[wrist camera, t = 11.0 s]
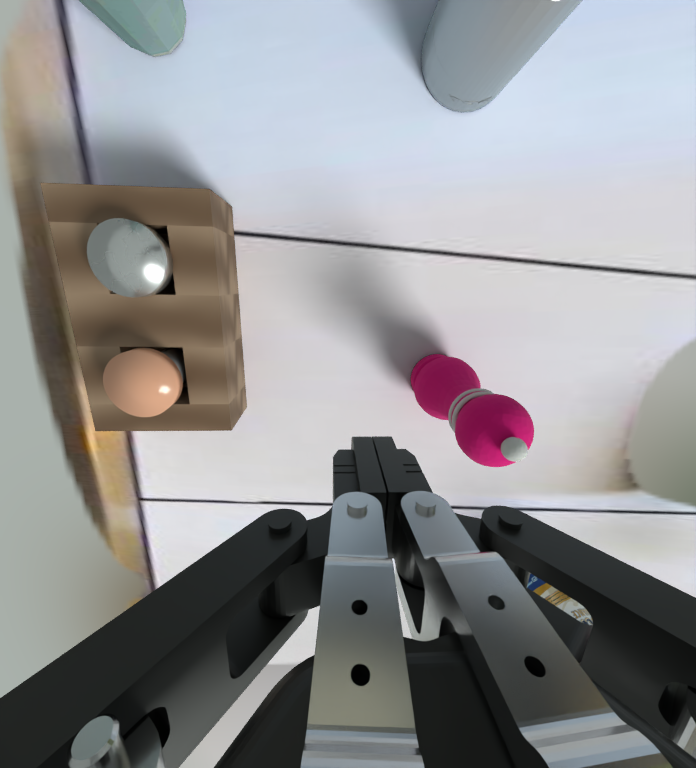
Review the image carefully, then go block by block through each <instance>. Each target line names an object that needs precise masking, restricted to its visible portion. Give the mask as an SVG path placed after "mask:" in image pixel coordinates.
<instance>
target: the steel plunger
mask: <svg viewBox="0 0 696 768" xmlns="http://www.w3.org/2000/svg"><path fill="white" fill-rule="evenodd" d="M87 257H88V261H89V265H90V267H91V269H92V271H93V273H94V275H95V276H96V278H97V279H98V280H99V281H100V282H101V283H102V284H103V285H104V286H105V287H106V288H108V289H109V290H111V291H112V292H114V293H116V294H119V295H122V296H126V297H146V296H152V295H155V294H157V293H159V292H160V291H162V290H163V289H164V288H165V287H166V286H167V285H173V284H174V276H173V258H172V254H171V251H170V245H169V242H165V240H164V239H163V238H162V237H161V236H160V235H159V234H158V233H157V232H156V231H155V230H153V229H152V228H150V227H149V226H147V225H144V224H142V223H139V222H136V221H132V220H129V219H124V218H113V219H109V220H106V221H104V222H102V223H100V224H99V225H98V226H96V228H95V229H94V230H93V231H92V233H91V235H90V237H89V239H88V243H87Z"/></svg>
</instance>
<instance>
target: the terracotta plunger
mask: <svg viewBox="0 0 696 768" xmlns="http://www.w3.org/2000/svg"><path fill="white" fill-rule="evenodd" d="M185 383H187V378H186V370H185V362H184V355H183V350H181V349H178V348H174V347H168V348H164V349H162V350H159V351H157V350H154V349H151V348H136V349H132V350H129V351H126V352H123V353H120V354H118V355H116V356H115V357H113V358H112V359H111V360H110V361H109V362H108V364H107V365H106V367H105V370H104V373H103V385H104V389H105V391H106V394H107V395H108V397H109V399H110V400H111V401H112V402H113V403H114V404H115V405H116V406H117V407H118V408H119V409H121V410H122V411H124V412H126V413H128V414H130V415H133V416H137V417H152V416H156V415H159V414H161V413H163V412H164V411H166V410H167V409H168V408H169V407H171V406H172V405H173V404H174V403H175V402H176V401H177V400H178V399H179V397H180V395H181V393H182V388H183V385H184V384H185Z"/></svg>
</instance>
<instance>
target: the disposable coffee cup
mask: <svg viewBox="0 0 696 768" xmlns="http://www.w3.org/2000/svg"><path fill="white" fill-rule="evenodd" d="M79 1H80V2H81V3H82V4H83V5H84V6H86V7H87V8H88V9H89V10H90V11H91V12H92V13H93V14H95V15H96V16H97V17H98V18H99V19H100V20H101V21H102V22H103V23H105V24H106V25H107V26H108V27H109V28H110V29H111V30H112V31H113V32H115V33H116V34H117V35H118V36H119V37H120V38H121V39H122V40H123V41H125V42H126V43H127V44H128V45H129V46H130V47H132V48H134V49H137V50H139V51H141V52H144V53H146V54H149V55H151V56H154V57H156V56H161V55H166V54H171V53H172V52H173V50H174V49H175V48H176V47H177V46H178V45H179V44H180V42H181V41H182V40H183V35H184V29H185V23H186V18H185V17H186V11H185V7H184V4H183V0H79Z"/></svg>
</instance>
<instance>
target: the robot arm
mask: <svg viewBox="0 0 696 768" xmlns="http://www.w3.org/2000/svg"><path fill="white" fill-rule="evenodd" d="M581 2H582V0H439V1H438V3H437V6H436V9H435V11H434V14H433V16H432V19H431V21H430V24H429V27H428V29H427V32H426V34H425V38H424V42H423V46H422V57H421V62H422V72H423V75H424V79H425V83H426V85H427V87H428V89H429V91H430V93H431V94H432V95H433V97H434V98H435V99H436V100H437V101H438V102H439V103H440V104H441V105H443V106H444V107H446V108H448V109H450V110H452V111H456V112H472V111H475V110H478V109H481V108H482V107H484V106H485V105H487V104H489V103H490V102H491V101H492V100H493V99H494V98H495V97H496V96H497V95H498V94H499V93H500V92H501V91H502V89H503V88H504V87H505V86H506V85H507V84H508V83H509V82H510V81H511V79H512V78H513V77H514V76H515V75H516V74H517V73H518V72H519V71H520V70H521V69H522V67H523V66H524V65H525V64H526V63H527V62H528V61H529V60H530V59H531V57H532V56H533V55H534V54H535V53H536V52H537V51H538V50H539V48H540V47H541V46H542V45H543V44H544V43H545V42H546V41H547V40H548V38H549V37H550V36H551V35H552V34H553V33H554V32H555V31H556V29H557V28H558V27H559V26H560V25H561V24H562V23H563V22H564V21H565V19H566V18H567V17H568V16H569V15H570V14H571V13H572V12H573V10H574V9H575V8H576V7H577V6H578V5H579V4H580V3H581ZM392 558H394V560H395V564H396V569H395V574H394V567H393V561H392ZM530 573H531V574H533V575H534V576H536V577H537V578H539V579H541V580H542V581H544V582H546V583H547V584H549V585H551V586H552V587H554V588H555V589H557V590H559V591H560V592H562V593H564V594H565V595H567V596H569V597H570V598H572V599H573V600H575V601H577V602H578V603H580V604H581V605H582V606H583V607H584V608H585V609H586V610H587V611H588V612H589V614H590V615H591V618H592V621H593V625H588V624H584V623H582V622H580V621H578V620H577V619H575V618H574V617H572V616H571V615H569V614H568V613H566V612H564V611H563V610H561V609H560V608H558V607H557V606H555V605H554V604H552V603H550V602H549V601H547V600H546V599H544V598H543V597H541V596H540V595H538V594H537V593H535V592H533V591H532V590H530V589H529V588H527V585H528V581H529V576H530ZM396 587H397V589H396ZM397 590H398V594H399V597H400V600H401V603H402V607H403V610H404V613H405V616H406V620H407V623H408V626H409V629H410V633H411V636H412V639H410V638H406V637H403V633H402V625H401V618H400V611H399V603H398V596H397ZM317 606H320V611H319V620H318V630H317V639H316V648H315V655H314V656H312V657H310V658H308V659H306V660H304V661H303V662H301V663H300V664H298V665H297V666H296V667H294V668H293V669H292V670H291V671H290V672H288V673H287V674H286V675H285V676H284V677H283V678H282V679H281V680H280V681H279V682H278V683H277V684H276V685H275V686H274V688H273V689H272V690H271V692H270V693H269V694H268V695H267V697H266V698H265V699H264V701H263V702H262V703H261V705H260V706H259V707H258V709H257V710H256V711H255V713H254V714H253V716H252V717H251V718H250V719H249V721H248V722H247V724H246V725H245V726H244V728H243V729H242V730H241V732H240V733H239V735H238V736H237V737H236V738H235V740H234V741H233V743H232V744H231V745H230V747H229V748H228V749H227V751H226V752H225V753H224V755H223V756H222V757H221V759H220V760H219V761H218V763H217V764H216V766H215V767H214V768H696V598H695V597H693V596H691V595H689V594H687V593H685V592H683V591H681V590H679V589H677V588H675V587H673V586H670V585H668V584H666V583H664V582H662V581H660V580H658V579H656V578H654V577H652V576H650V575H648V574H646V573H644V572H642V571H640V570H638V569H636V568H634V567H632V566H630V565H628V564H626V563H624V562H622V561H620V560H618V559H616V558H614V557H612V556H610V555H608V554H606V553H604V552H602V551H600V550H598V549H596V548H594V547H592V546H590V545H588V544H586V543H584V542H581V541H579V540H577V539H575V538H573V537H571V536H569V535H567V534H565V533H563V532H561V531H559V530H557V529H555V528H553V527H551V526H549V525H547V524H545V523H543V522H541V521H539V520H537V519H535V518H533V517H531V516H529V515H527V514H525V513H523V512H521V511H519V510H516V509H513V508H510V507H506V506H491V507H488V508H486V509H485V510H484V511H483V513H482V518H481V519H479V518H474V517H469V516H464V515H460V514H457V513H454V511H453V510H452V508H451V507H450V505H449V504H448V503H447V501H446V500H445V499H443V498H442V497H440V496H438V495H436V494H434V493H433V492H432V490H431V488H430V486H429V484H428V482H427V480H426V478H425V476H424V474H423V473H422V470H421V468H420V466H419V464H418V462H417V460H416V458H415V456H414V455H413V454H411V453H410V452H409V451H407V450H406V449H397V448H396V446H395V444H394V441H393V439H392V437H372V438H371V437H352V444H351V450H338V451H337V453H336V454H335V455H334V457H333V506H332V508H331V509H330V510H329V511H328V512H327V513H325V514H324V515H322V516H320V517H317V518H314V519H310V520H307V521H306V518H305V517H304V516H303V515H302V514H301V513H299V512H297V511H295V510H291V509H277V510H273V511H270V512H267V513H265V514H264V515H262V516H261V517H259V518H258V519H256V520H255V521H253V522H252V523H251V524H249V525H248V526H246V527H245V528H243V529H242V530H240V531H239V532H238V533H236V534H235V535H233V536H232V537H230V538H229V539H228V540H226V541H225V542H223V543H222V544H220V545H219V546H218V547H216V548H215V549H213V550H212V551H210V552H209V553H208V554H206V555H205V556H203V557H202V558H200V559H199V560H198V561H196V562H195V563H193V564H192V565H190V566H189V567H188V568H186V569H185V570H183V571H182V572H180V573H179V574H177V575H176V576H175V577H173V578H172V579H170V580H169V581H167V582H166V583H165V584H163V585H162V586H160V587H159V588H157V589H156V590H155V591H153V592H152V593H150V594H149V595H147V596H146V597H145V598H143V599H142V600H140V601H139V602H137V603H136V604H135V605H133V606H132V607H130V608H129V609H127V610H126V611H124V612H123V613H122V614H120V615H119V616H117V617H116V618H115V619H113V620H112V621H110V622H109V623H107V624H106V625H104V626H103V627H102V628H100V629H99V630H97V631H96V632H94V633H93V634H92V635H90V636H89V637H87V638H86V639H85V640H83V641H82V642H80V643H79V644H77V645H76V646H74V647H73V648H72V649H70V650H69V651H67V652H66V653H64V654H63V655H62V656H60V657H59V658H57V659H56V660H54V661H53V662H52V663H50V664H49V665H47V666H46V667H45V668H43V669H42V670H40V671H39V672H37V673H36V674H34V675H33V676H31V677H30V678H29V679H27V680H26V681H24V682H23V683H21V684H20V685H19V686H17V687H16V688H14V689H13V690H11V691H10V692H9V693H7V694H6V695H4V696H3V697H2V698H0V768H179V767H180V765H181V764H182V763H183V762H184V761H185V760H186V758H187V757H188V756H189V755H190V754H191V752H192V751H193V750H194V749H195V748H196V747H197V745H198V744H199V743H200V742H201V741H202V740H203V738H204V737H205V736H206V735H207V734H208V733H209V731H210V730H211V729H212V728H213V727H214V726H215V724H216V723H217V722H218V721H219V720H220V718H221V717H222V716H223V715H224V714H225V713H226V711H227V710H228V709H229V708H230V707H231V705H232V704H233V703H234V702H235V701H236V700H237V699H238V697H239V696H240V695H241V694H242V693H243V692H244V690H245V689H246V688H247V687H248V686H249V684H250V683H251V682H252V681H253V680H254V679H255V677H256V676H257V675H258V674H259V673H260V671H261V670H262V669H263V668H264V667H265V666H266V665H267V663H268V662H269V661H270V660H271V659H272V658H273V656H274V655H275V654H276V653H277V652H278V650H279V649H280V648H281V647H282V646H283V645H284V643H285V642H286V641H287V640H288V639H289V638H290V636H291V635H292V634H293V633H294V632H295V631H296V629H297V628H298V627H299V626H300V625H301V624H302V622H303V621H304V620H305V618H306V616H307V613H308V610H309V609H312V608H314V607H317Z"/></svg>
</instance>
